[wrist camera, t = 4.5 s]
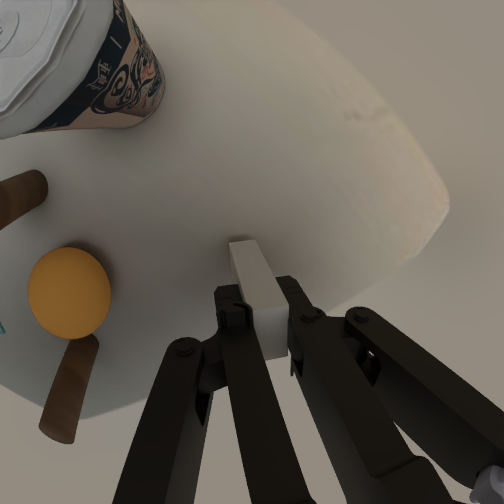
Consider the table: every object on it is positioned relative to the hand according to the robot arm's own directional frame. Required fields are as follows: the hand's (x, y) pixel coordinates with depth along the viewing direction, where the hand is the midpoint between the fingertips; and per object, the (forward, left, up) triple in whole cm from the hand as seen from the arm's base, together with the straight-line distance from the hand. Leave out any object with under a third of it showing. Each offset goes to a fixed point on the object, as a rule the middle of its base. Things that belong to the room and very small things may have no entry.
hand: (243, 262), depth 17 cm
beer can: (-6, +11, -2) cm, 12 cm away
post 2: (-13, -6, -2) cm, 15 cm away
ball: (-11, 0, +1) cm, 11 cm away
